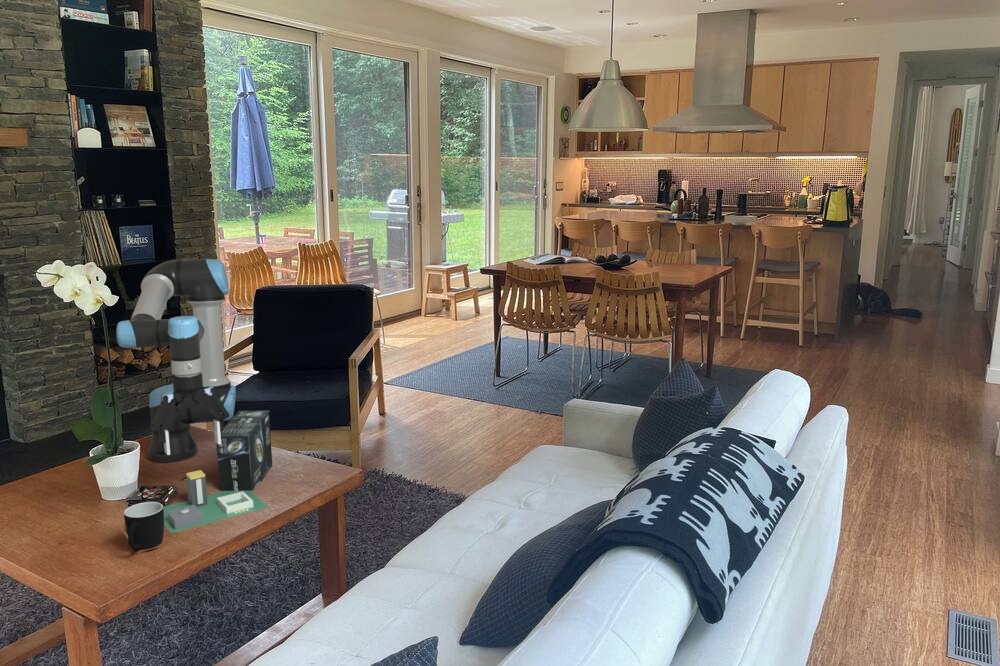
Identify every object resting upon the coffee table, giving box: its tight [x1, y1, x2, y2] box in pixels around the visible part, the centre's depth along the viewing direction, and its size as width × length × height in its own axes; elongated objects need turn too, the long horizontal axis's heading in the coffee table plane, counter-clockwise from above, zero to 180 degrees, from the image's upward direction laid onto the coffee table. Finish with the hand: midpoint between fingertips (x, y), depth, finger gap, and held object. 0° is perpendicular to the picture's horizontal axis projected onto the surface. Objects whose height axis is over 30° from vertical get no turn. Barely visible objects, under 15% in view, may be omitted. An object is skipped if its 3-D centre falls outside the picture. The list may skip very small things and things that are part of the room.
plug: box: [185, 469, 208, 507], centre depth 213 cm, size 5×4×9 cm
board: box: [163, 491, 269, 534], centre depth 212 cm, size 18×26×4 cm
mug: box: [123, 501, 165, 553], centre depth 190 cm, size 12×9×10 cm
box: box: [215, 410, 273, 492], centre depth 233 cm, size 23×10×19 cm, turn 2°
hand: (193, 448), depth 211 cm, fingers open, 13 cm apart
